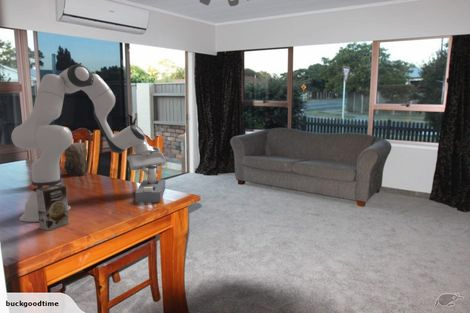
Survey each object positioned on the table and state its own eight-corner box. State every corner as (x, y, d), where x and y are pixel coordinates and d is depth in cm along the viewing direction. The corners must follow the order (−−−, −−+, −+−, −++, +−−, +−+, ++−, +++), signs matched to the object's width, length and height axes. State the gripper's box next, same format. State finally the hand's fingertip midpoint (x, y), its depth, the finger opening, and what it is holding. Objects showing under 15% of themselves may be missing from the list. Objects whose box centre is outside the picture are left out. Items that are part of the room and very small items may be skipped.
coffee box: (48, 231, 139) (44, 191, 136) (39, 227, 142) (35, 188, 139) (69, 223, 146) (66, 186, 143) (60, 220, 150) (57, 183, 147)
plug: (156, 186, 190) (155, 166, 188) (148, 186, 190) (147, 166, 188) (157, 184, 194) (156, 164, 192) (149, 184, 194) (148, 164, 191)
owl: (64, 175, 226) (61, 144, 222) (73, 171, 238) (70, 141, 235) (83, 175, 226) (81, 144, 222) (91, 171, 238) (89, 141, 234)
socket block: (160, 202, 175) (160, 188, 173) (135, 202, 174) (135, 188, 172) (165, 188, 199) (165, 175, 198) (143, 188, 198) (143, 176, 197)
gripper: (127, 151, 187) (136, 173, 181) (161, 147, 200) (171, 167, 194) (124, 158, 191) (133, 179, 186) (158, 154, 204) (167, 173, 199)
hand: (152, 173), depth 190 cm, fingers closed on plug, 4 cm apart
